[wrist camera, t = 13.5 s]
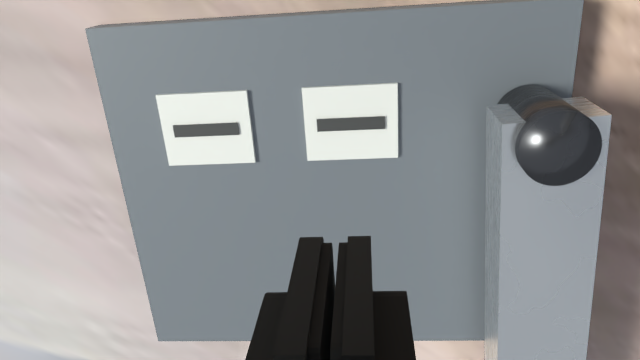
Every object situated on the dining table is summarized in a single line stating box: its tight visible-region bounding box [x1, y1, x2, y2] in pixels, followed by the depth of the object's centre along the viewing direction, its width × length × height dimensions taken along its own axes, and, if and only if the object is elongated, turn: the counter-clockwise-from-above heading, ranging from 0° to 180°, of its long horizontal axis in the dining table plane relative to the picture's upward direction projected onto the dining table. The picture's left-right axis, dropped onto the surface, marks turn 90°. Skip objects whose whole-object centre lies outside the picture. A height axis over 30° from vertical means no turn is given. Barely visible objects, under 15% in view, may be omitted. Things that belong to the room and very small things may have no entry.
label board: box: [85, 0, 584, 341], centre depth 27 cm, size 22×18×2 cm
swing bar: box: [484, 84, 612, 360], centre depth 25 cm, size 22×4×4 cm, turn 7°
